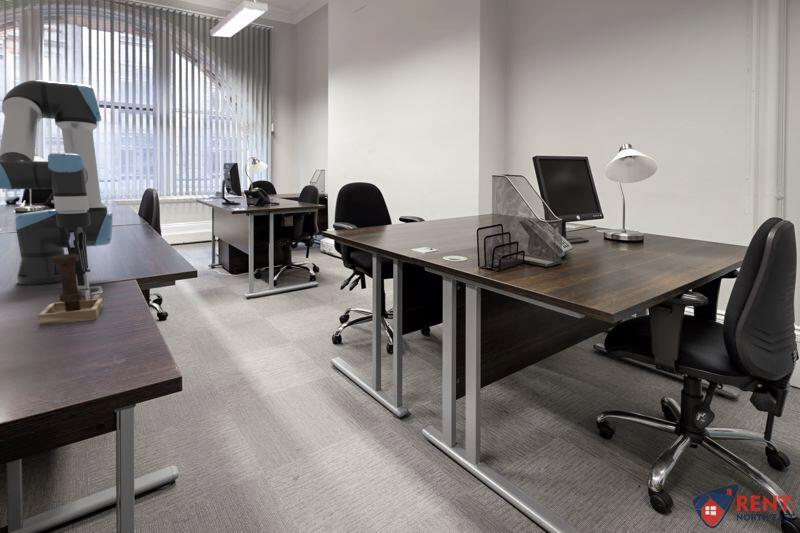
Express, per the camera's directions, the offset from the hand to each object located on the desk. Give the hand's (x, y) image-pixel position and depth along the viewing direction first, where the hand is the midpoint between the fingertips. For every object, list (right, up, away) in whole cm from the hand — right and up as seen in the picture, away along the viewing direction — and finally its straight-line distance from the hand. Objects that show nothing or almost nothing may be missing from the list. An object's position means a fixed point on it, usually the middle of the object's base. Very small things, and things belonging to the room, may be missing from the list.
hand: (84, 295), depth 128 cm
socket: (+3, -3, -7) cm, 8 cm away
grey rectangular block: (+2, -3, -3) cm, 4 cm away
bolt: (+6, -4, -12) cm, 14 cm away
